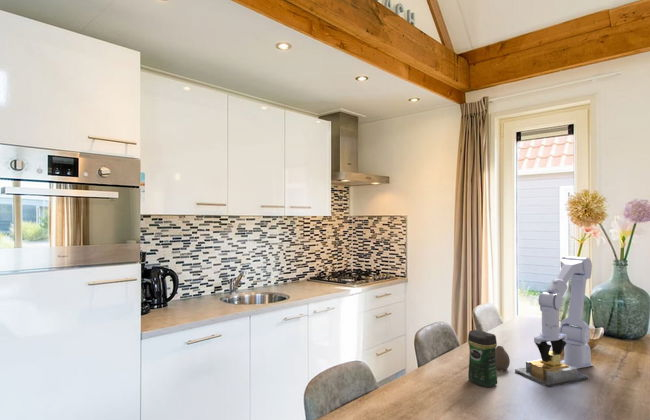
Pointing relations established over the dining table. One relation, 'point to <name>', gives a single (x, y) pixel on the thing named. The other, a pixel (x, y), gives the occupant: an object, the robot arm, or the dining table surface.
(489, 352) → the coffee jar
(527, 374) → the rosette base
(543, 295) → the robot arm
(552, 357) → the rectangular block
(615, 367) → the dining table surface
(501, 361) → the vase
